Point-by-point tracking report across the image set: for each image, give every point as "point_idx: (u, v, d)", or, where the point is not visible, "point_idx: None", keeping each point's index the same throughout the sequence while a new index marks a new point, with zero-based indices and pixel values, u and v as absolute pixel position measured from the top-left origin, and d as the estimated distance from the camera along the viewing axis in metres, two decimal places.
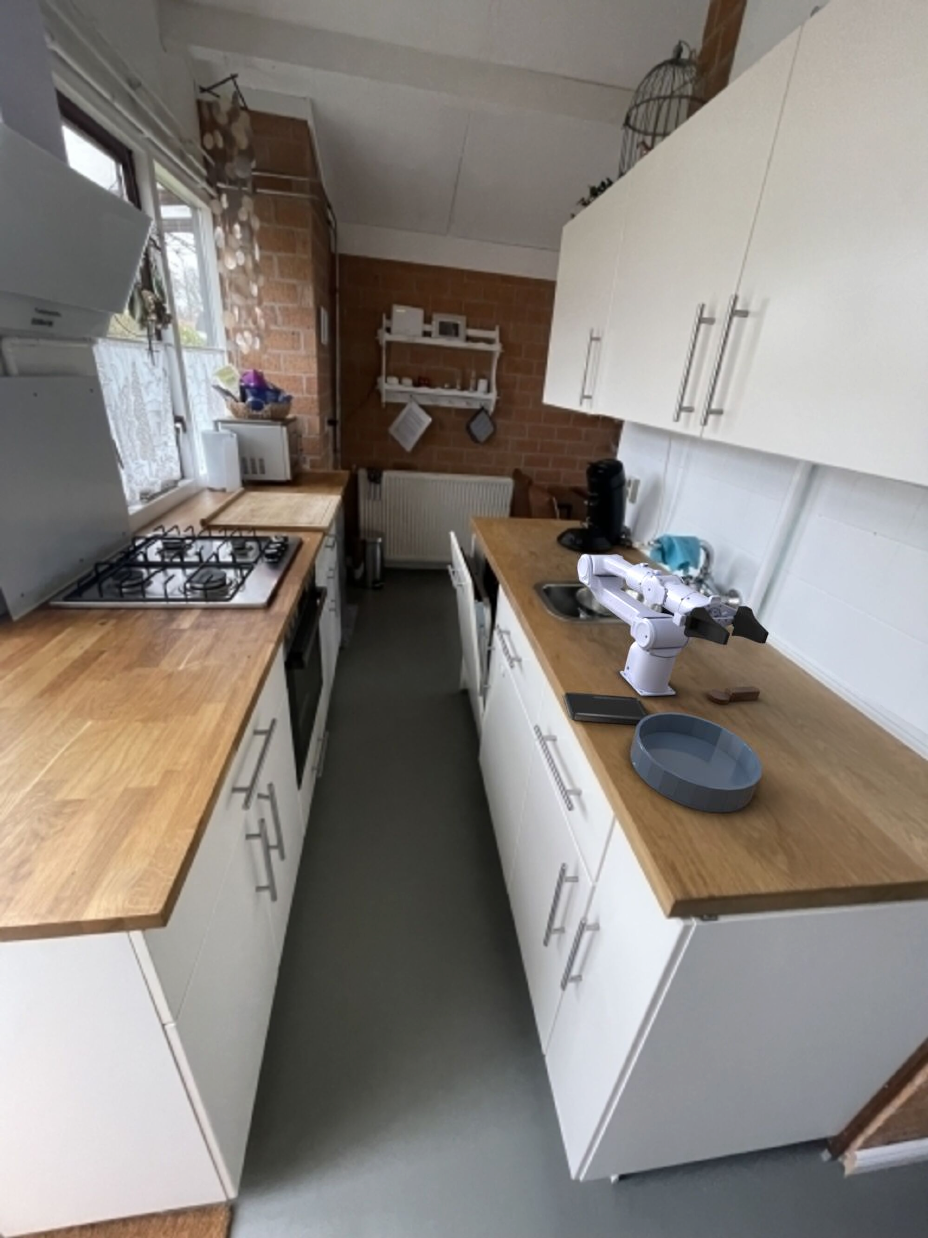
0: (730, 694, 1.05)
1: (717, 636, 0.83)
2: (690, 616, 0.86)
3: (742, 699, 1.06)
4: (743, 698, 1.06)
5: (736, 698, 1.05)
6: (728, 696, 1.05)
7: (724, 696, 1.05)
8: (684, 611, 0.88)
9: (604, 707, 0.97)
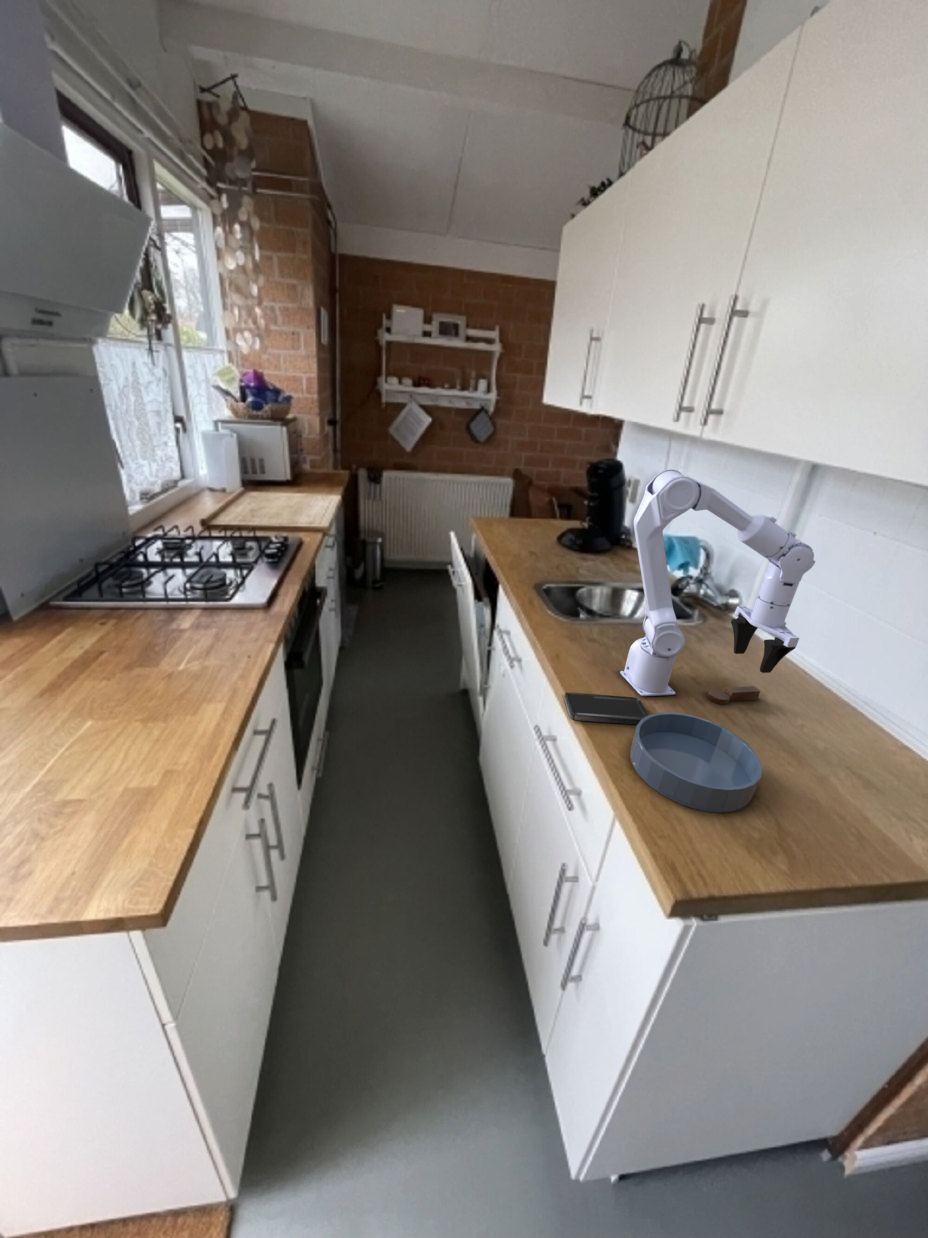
0: (730, 694, 1.05)
1: (768, 666, 0.99)
2: (790, 647, 0.96)
3: (742, 699, 1.06)
4: (743, 698, 1.06)
5: (736, 698, 1.05)
6: (728, 696, 1.05)
7: (724, 696, 1.05)
8: (793, 636, 0.95)
9: (604, 707, 0.97)
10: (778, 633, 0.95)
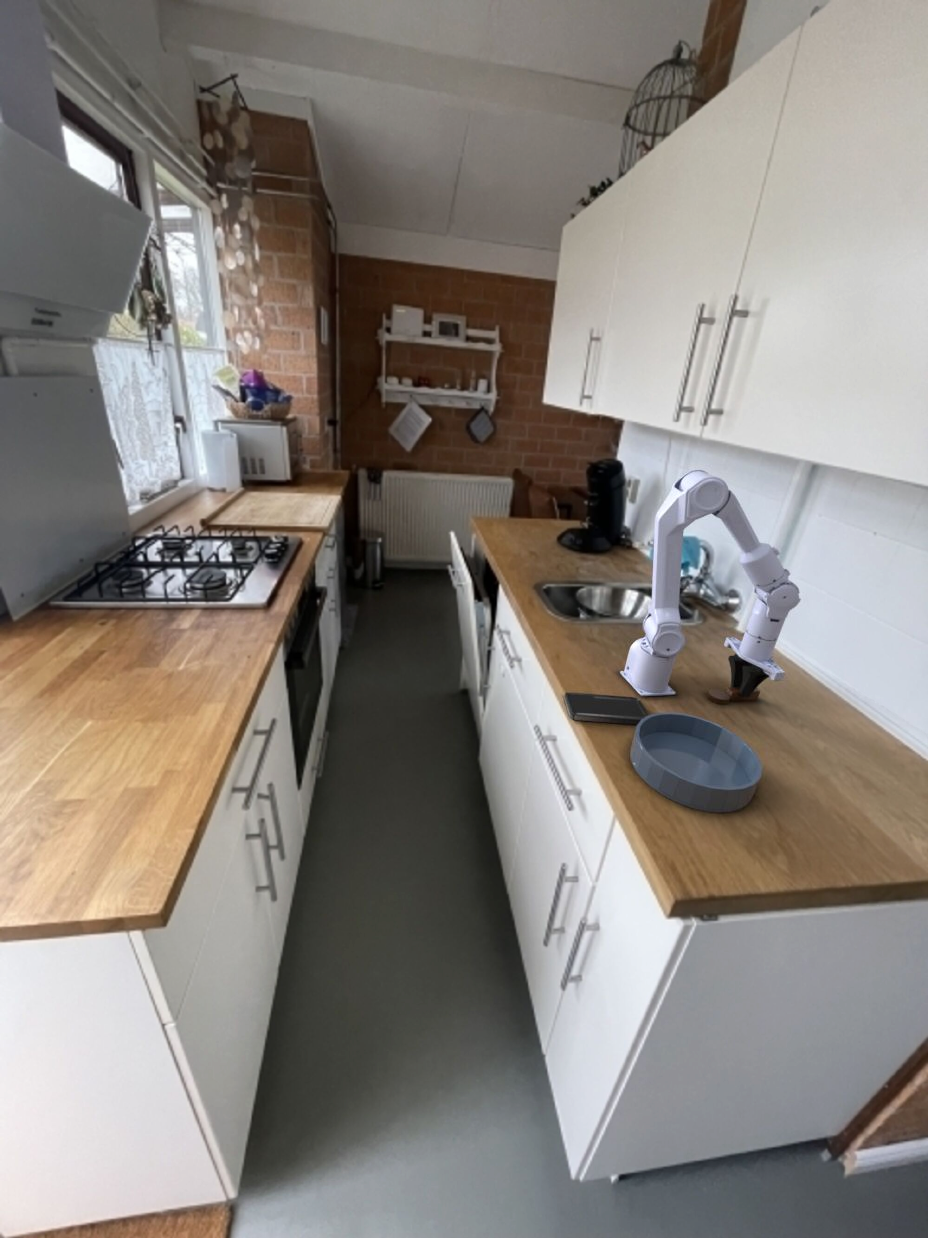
0: (730, 694, 1.05)
1: (747, 691, 1.04)
2: None
3: (742, 699, 1.06)
4: (743, 698, 1.06)
5: (736, 698, 1.05)
6: (728, 696, 1.05)
7: (724, 696, 1.05)
8: None
9: (604, 707, 0.97)
10: (765, 667, 0.98)
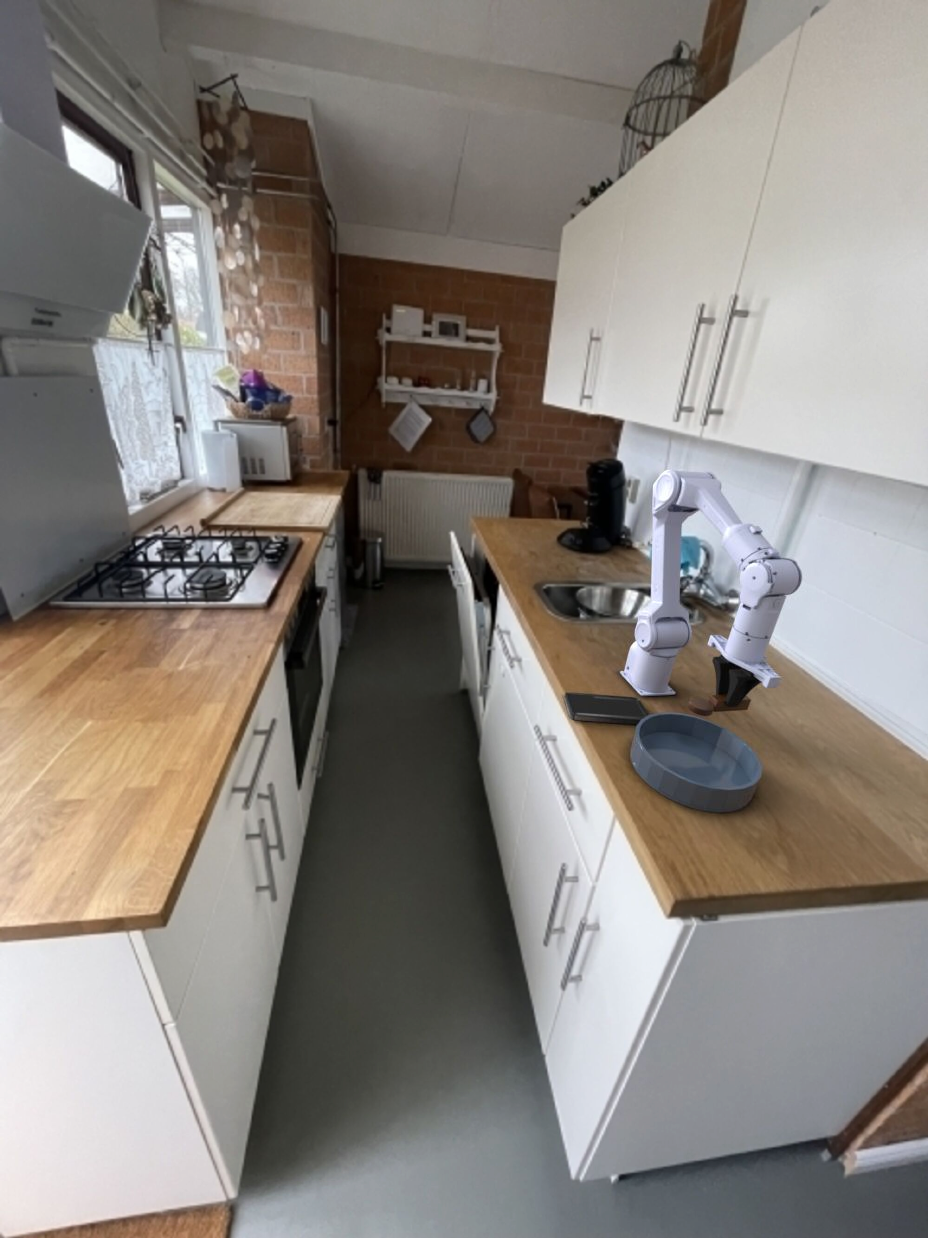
0: (715, 703, 0.87)
1: (735, 699, 0.86)
2: (759, 679, 0.83)
3: (729, 709, 0.88)
4: (731, 708, 0.88)
5: (722, 707, 0.87)
6: (712, 706, 0.87)
7: (707, 706, 0.87)
8: (774, 674, 0.80)
9: (604, 707, 0.97)
10: (756, 671, 0.80)
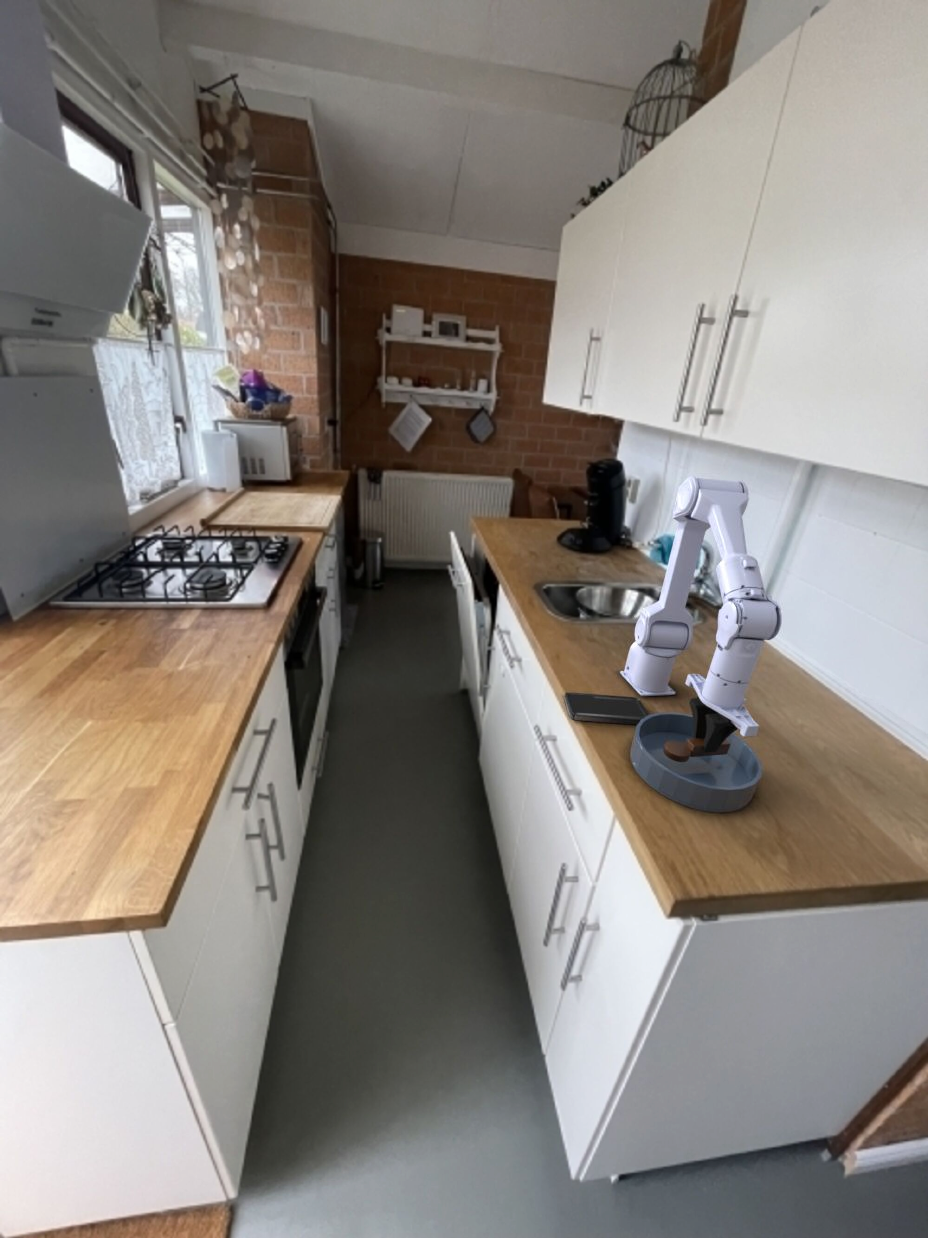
0: (691, 748, 0.82)
1: (712, 745, 0.81)
2: None
3: (707, 754, 0.83)
4: (708, 753, 0.83)
5: (700, 752, 0.82)
6: (689, 751, 0.82)
7: (684, 751, 0.82)
8: None
9: (604, 707, 0.97)
10: (733, 718, 0.75)
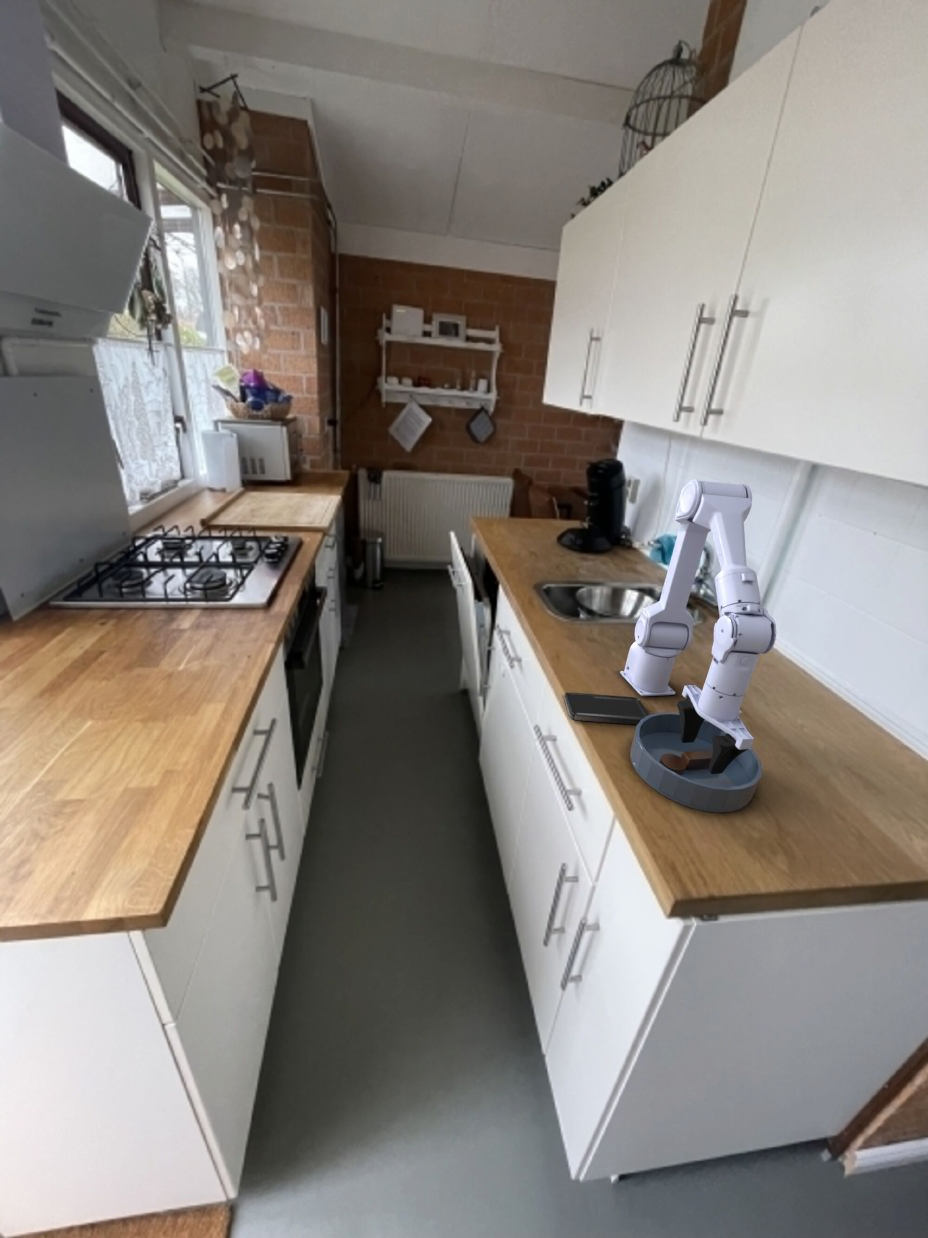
0: (687, 761, 0.83)
1: (719, 767, 0.80)
2: None
3: (703, 767, 0.84)
4: (704, 766, 0.84)
5: (695, 766, 0.83)
6: (684, 764, 0.83)
7: (679, 764, 0.83)
8: None
9: (604, 707, 0.97)
10: (729, 730, 0.76)
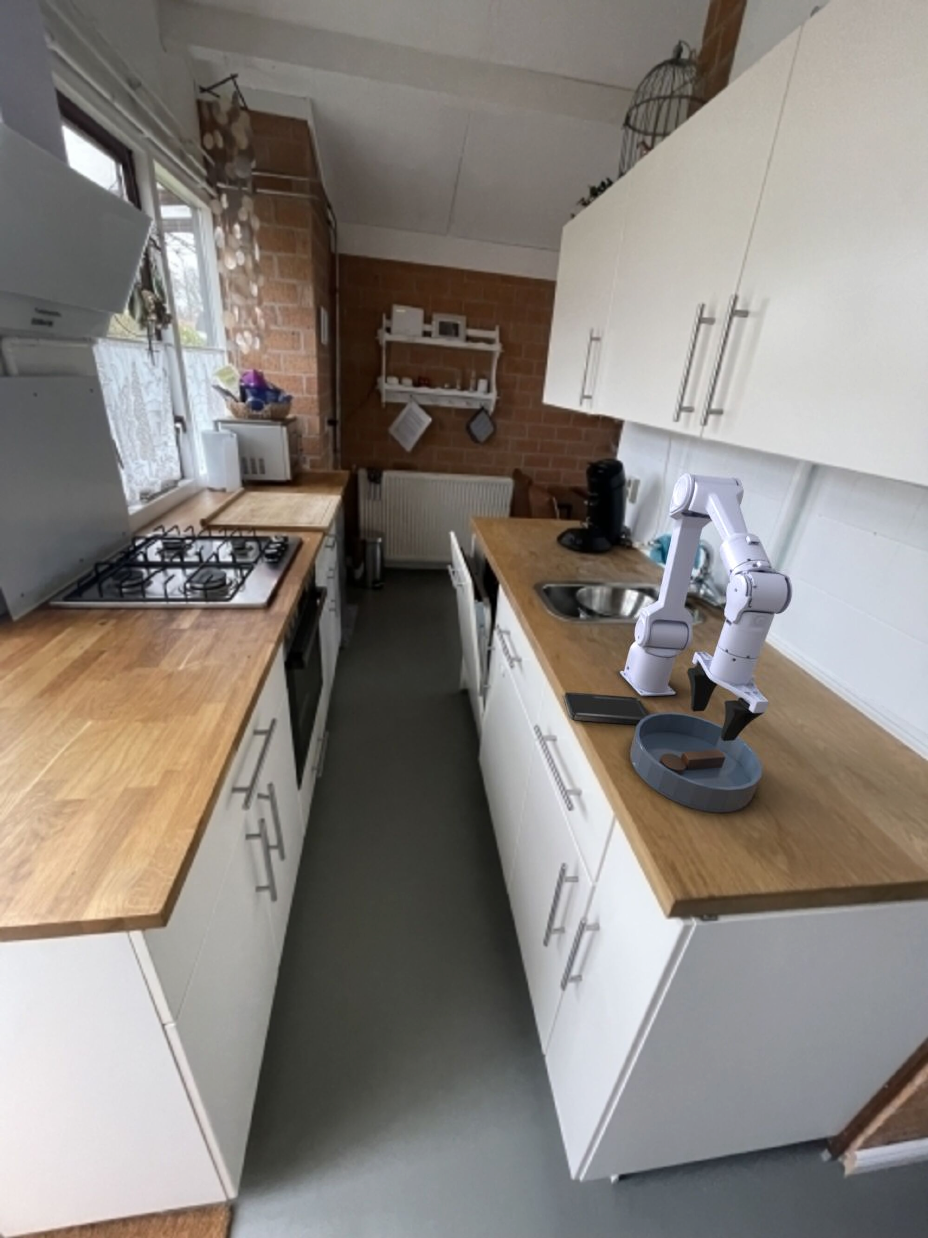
0: (687, 761, 0.83)
1: (731, 733, 0.77)
2: None
3: (703, 767, 0.84)
4: (704, 766, 0.84)
5: (695, 766, 0.83)
6: (684, 764, 0.83)
7: (679, 764, 0.83)
8: None
9: (604, 707, 0.97)
10: (742, 694, 0.73)
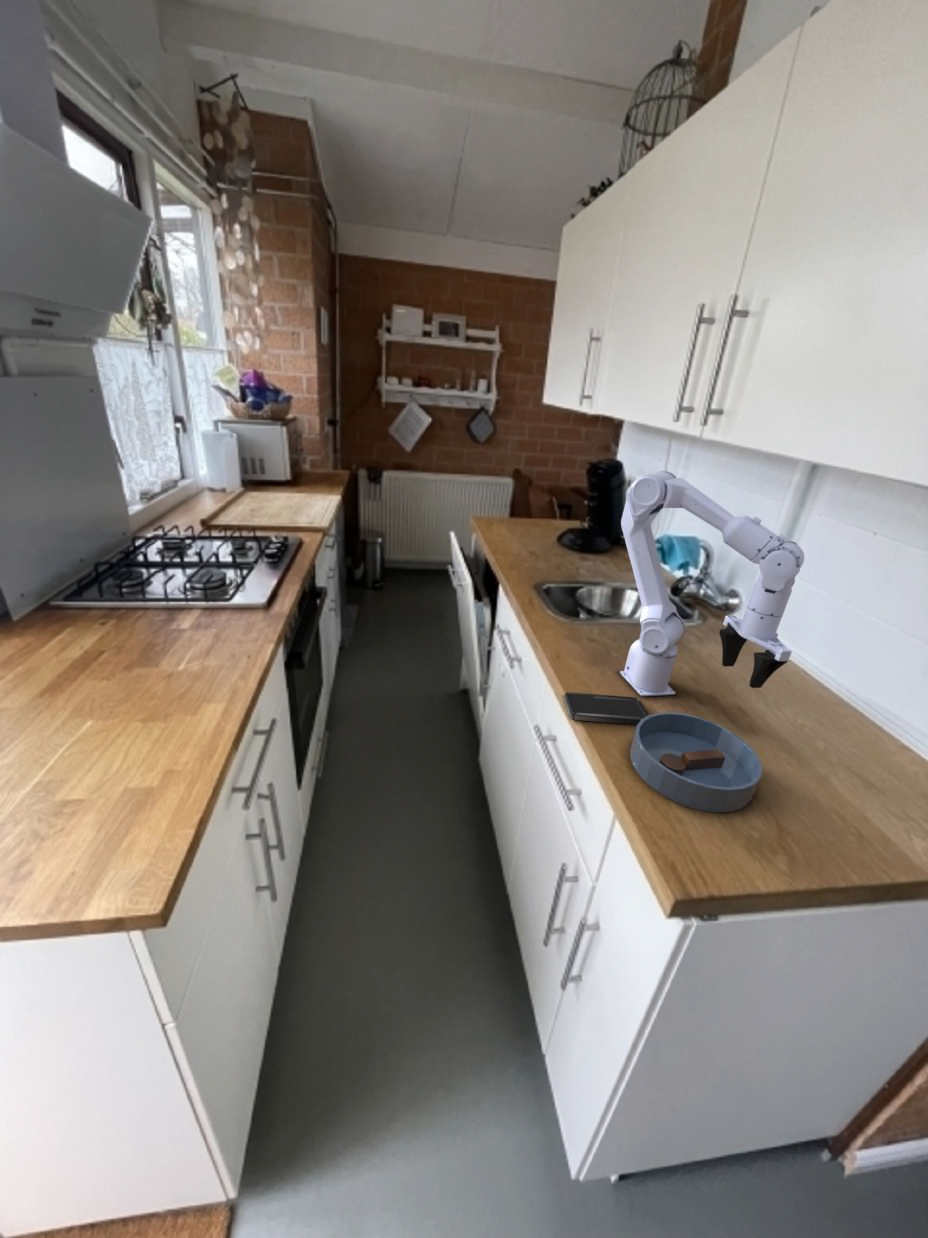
0: (687, 761, 0.83)
1: (758, 681, 0.92)
2: (782, 661, 0.88)
3: (703, 767, 0.84)
4: (704, 766, 0.84)
5: (695, 766, 0.83)
6: (684, 764, 0.83)
7: (679, 764, 0.83)
8: (785, 649, 0.88)
9: (604, 707, 0.97)
10: (769, 646, 0.88)
